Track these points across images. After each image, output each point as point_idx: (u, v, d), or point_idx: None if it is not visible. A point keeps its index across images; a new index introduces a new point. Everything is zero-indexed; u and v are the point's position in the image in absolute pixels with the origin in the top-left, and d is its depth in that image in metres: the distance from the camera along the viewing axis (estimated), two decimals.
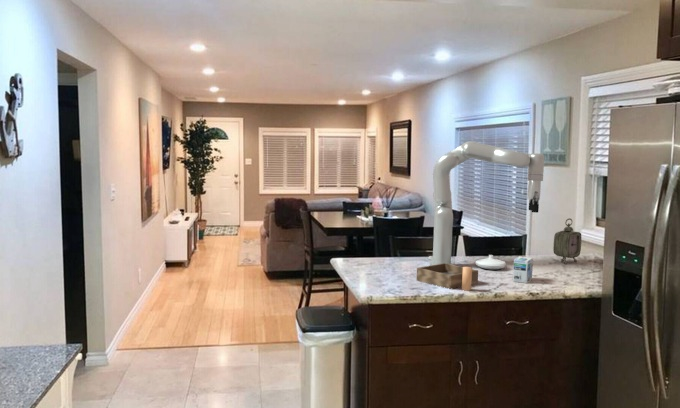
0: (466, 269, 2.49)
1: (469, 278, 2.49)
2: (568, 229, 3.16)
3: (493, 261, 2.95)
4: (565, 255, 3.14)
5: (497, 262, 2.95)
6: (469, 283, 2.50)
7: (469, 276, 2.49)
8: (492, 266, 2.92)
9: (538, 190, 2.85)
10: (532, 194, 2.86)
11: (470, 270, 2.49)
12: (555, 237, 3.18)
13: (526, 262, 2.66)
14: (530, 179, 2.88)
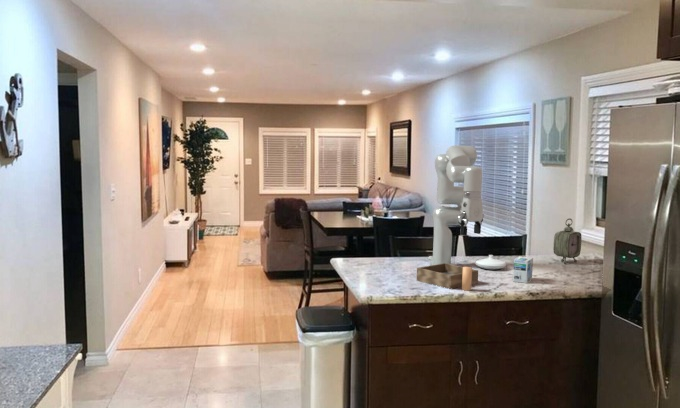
0: (466, 269, 2.49)
1: (469, 278, 2.49)
2: (568, 229, 3.16)
3: (493, 261, 2.95)
4: (565, 255, 3.14)
5: (497, 262, 2.95)
6: (469, 283, 2.50)
7: (469, 276, 2.49)
8: (492, 266, 2.92)
9: None
10: None
11: (470, 270, 2.49)
12: (555, 237, 3.18)
13: (526, 262, 2.66)
14: None
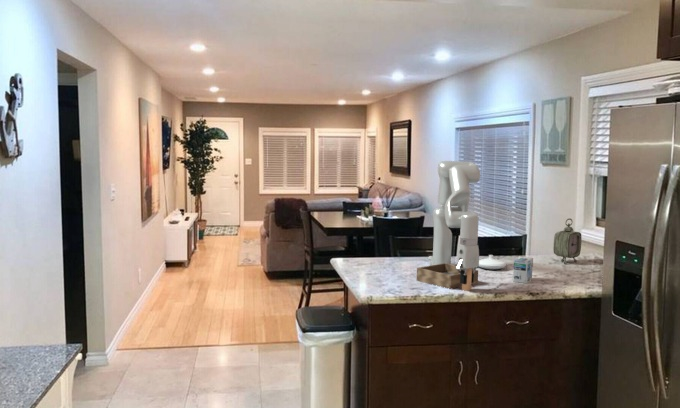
0: None
1: (469, 278, 2.49)
2: (568, 229, 3.16)
3: (493, 261, 2.95)
4: (565, 255, 3.14)
5: (497, 262, 2.95)
6: (469, 283, 2.50)
7: (469, 276, 2.49)
8: (492, 266, 2.92)
9: None
10: None
11: (470, 270, 2.49)
12: (555, 237, 3.18)
13: (526, 262, 2.66)
14: None
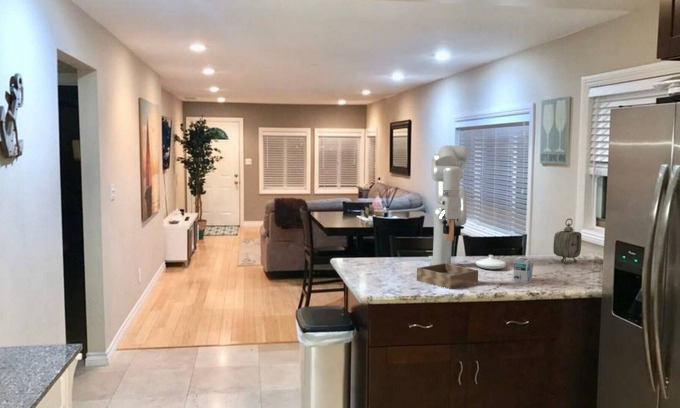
0: None
1: (451, 228, 2.62)
2: (568, 229, 3.16)
3: (493, 261, 2.95)
4: (565, 255, 3.14)
5: (497, 262, 2.95)
6: (451, 233, 2.62)
7: (451, 226, 2.62)
8: (492, 266, 2.92)
9: None
10: None
11: (452, 221, 2.62)
12: (555, 237, 3.18)
13: (526, 262, 2.66)
14: (459, 196, 2.62)
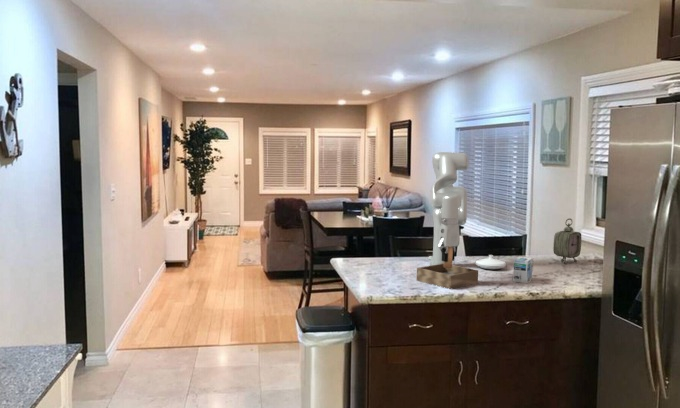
0: None
1: (450, 256, 2.63)
2: (568, 229, 3.16)
3: (493, 261, 2.95)
4: (565, 255, 3.14)
5: (497, 262, 2.95)
6: (450, 261, 2.63)
7: (450, 254, 2.63)
8: (492, 266, 2.92)
9: None
10: None
11: (451, 248, 2.63)
12: (555, 237, 3.18)
13: (526, 262, 2.66)
14: (457, 223, 2.63)
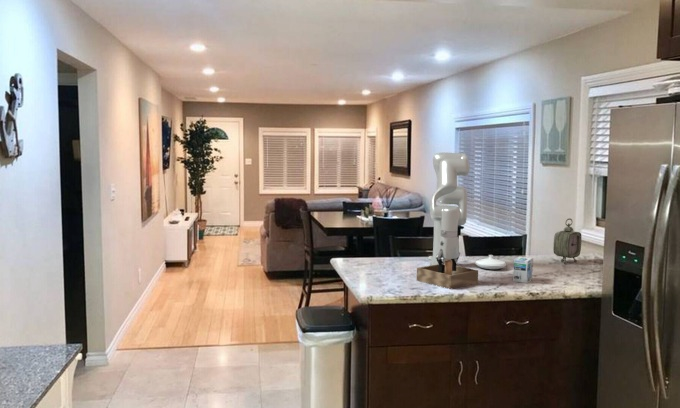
0: (446, 262, 2.64)
1: (449, 270, 2.64)
2: (568, 229, 3.16)
3: (493, 261, 2.95)
4: (565, 255, 3.14)
5: (497, 262, 2.95)
6: None
7: (449, 269, 2.64)
8: (492, 266, 2.92)
9: None
10: None
11: (450, 263, 2.64)
12: (555, 237, 3.18)
13: (526, 262, 2.66)
14: None
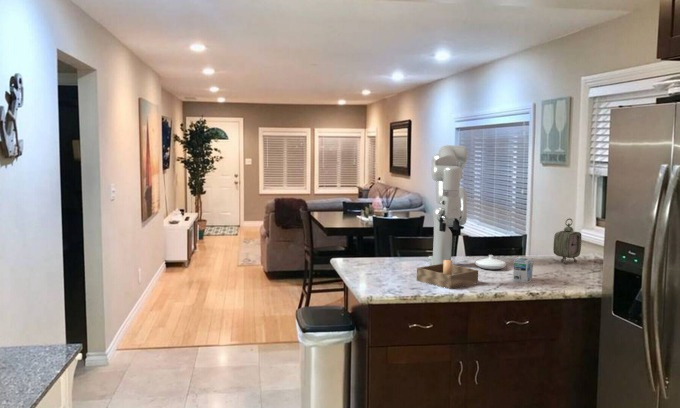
0: (446, 262, 2.64)
1: (449, 270, 2.64)
2: (568, 229, 3.16)
3: (493, 261, 2.95)
4: (565, 255, 3.14)
5: (497, 262, 2.95)
6: None
7: (449, 269, 2.64)
8: (492, 266, 2.92)
9: None
10: None
11: (450, 263, 2.64)
12: (555, 237, 3.18)
13: (526, 262, 2.66)
14: (458, 195, 2.62)
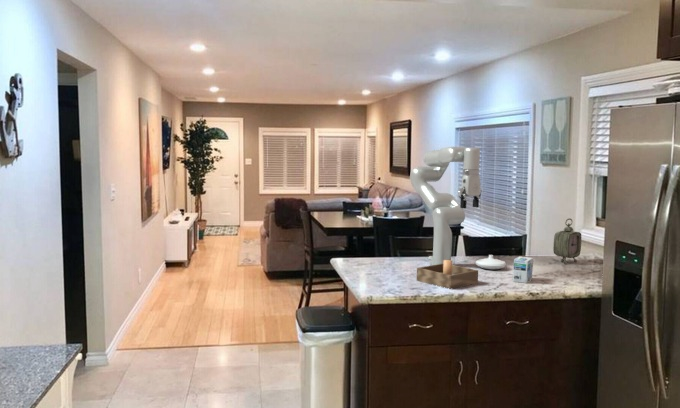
0: (446, 262, 2.64)
1: (449, 270, 2.64)
2: (568, 229, 3.16)
3: (493, 261, 2.95)
4: (565, 255, 3.14)
5: (497, 262, 2.95)
6: None
7: (449, 269, 2.64)
8: (492, 266, 2.92)
9: None
10: None
11: (450, 263, 2.64)
12: (555, 237, 3.18)
13: (526, 262, 2.66)
14: (478, 174, 2.78)
